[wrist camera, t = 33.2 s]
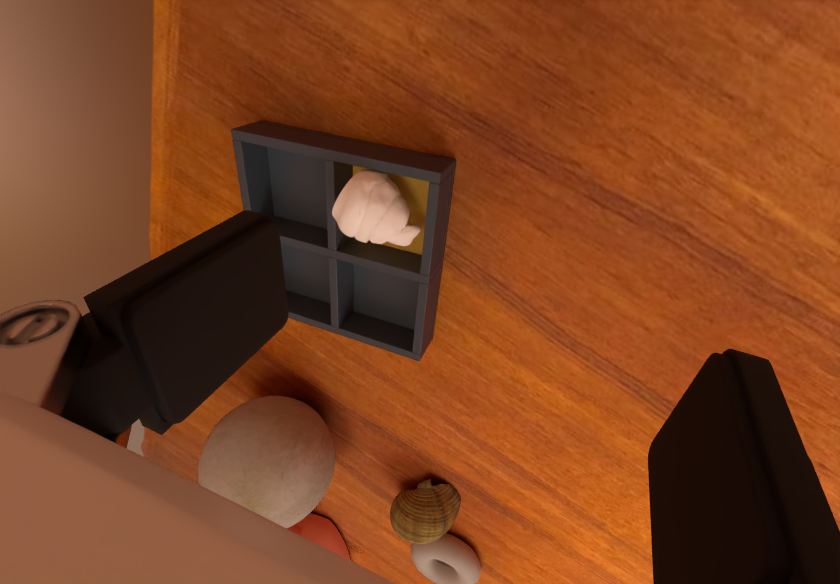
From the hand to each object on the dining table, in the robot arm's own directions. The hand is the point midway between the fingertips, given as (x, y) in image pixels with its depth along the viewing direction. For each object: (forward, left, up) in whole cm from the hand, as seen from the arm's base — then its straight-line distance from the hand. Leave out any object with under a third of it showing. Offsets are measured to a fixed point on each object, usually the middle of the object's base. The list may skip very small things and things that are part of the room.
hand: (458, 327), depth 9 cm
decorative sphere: (+40, -23, -24) cm, 52 cm away
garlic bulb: (+8, -11, -23) cm, 27 cm away
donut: (+57, -1, -24) cm, 62 cm away
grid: (+12, -16, -24) cm, 31 cm away
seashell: (+46, -5, -24) cm, 52 cm away
